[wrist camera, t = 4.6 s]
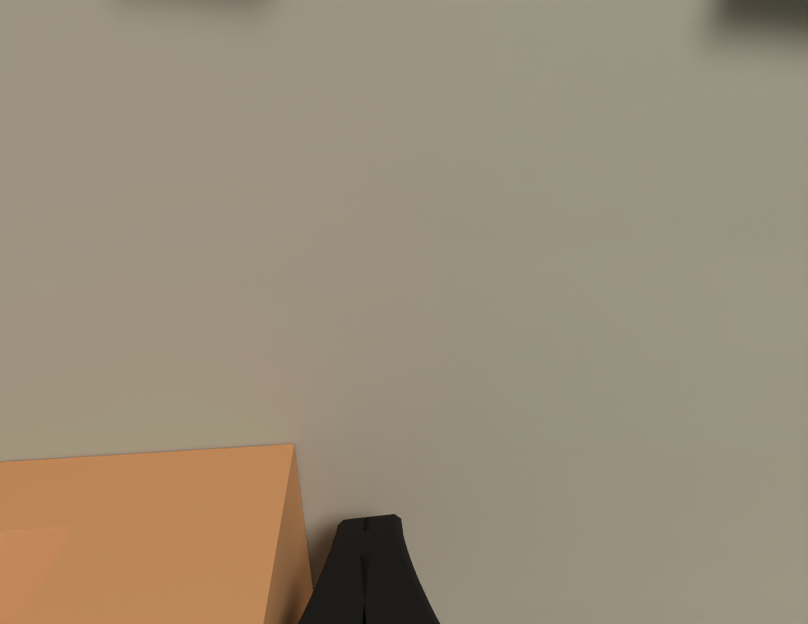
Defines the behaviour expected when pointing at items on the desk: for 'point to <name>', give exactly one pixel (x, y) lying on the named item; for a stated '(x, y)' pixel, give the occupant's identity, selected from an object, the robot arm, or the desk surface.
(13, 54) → the desk surface
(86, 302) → the desk surface
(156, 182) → the desk surface
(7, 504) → the doorstop wedge
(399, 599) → the robot arm
